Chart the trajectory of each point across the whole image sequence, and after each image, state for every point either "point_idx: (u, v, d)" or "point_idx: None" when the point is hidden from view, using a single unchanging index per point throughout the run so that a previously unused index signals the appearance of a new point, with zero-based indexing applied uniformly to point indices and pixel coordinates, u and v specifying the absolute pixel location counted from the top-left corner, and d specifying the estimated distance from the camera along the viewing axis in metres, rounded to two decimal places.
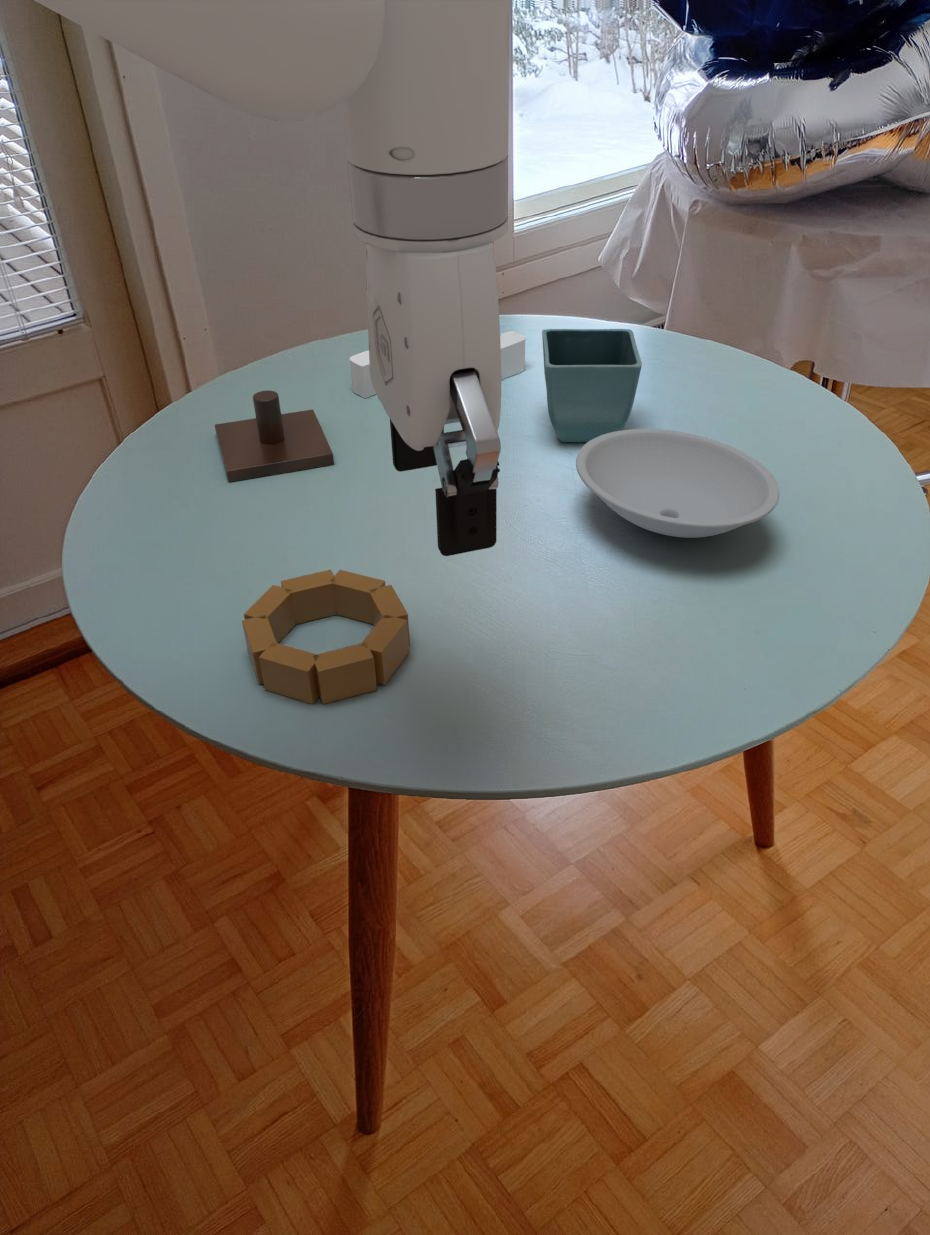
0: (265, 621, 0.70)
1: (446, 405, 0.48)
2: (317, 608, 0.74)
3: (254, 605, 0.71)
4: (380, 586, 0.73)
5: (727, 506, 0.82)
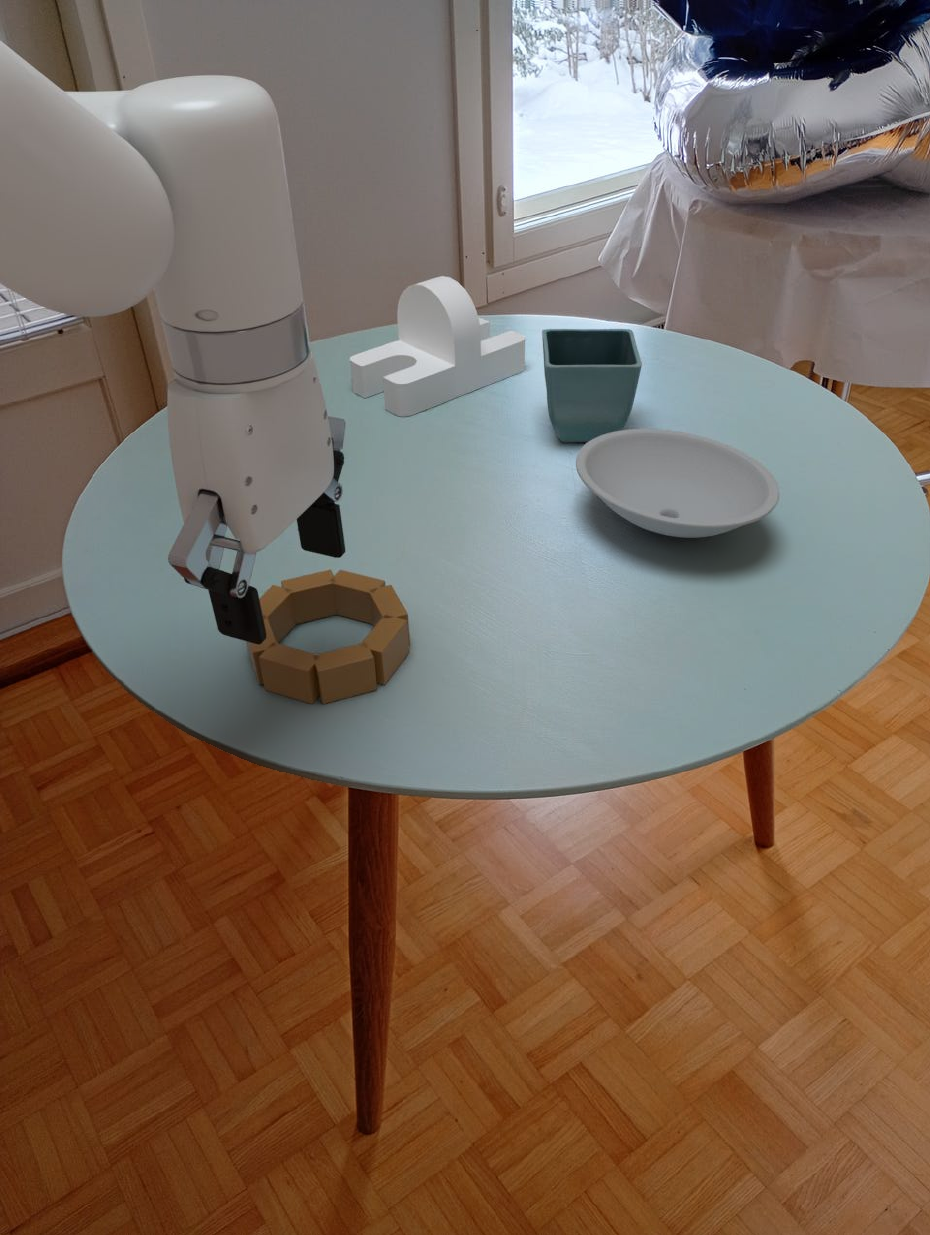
0: (265, 621, 0.70)
1: None
2: (317, 608, 0.74)
3: None
4: (380, 586, 0.73)
5: (727, 506, 0.82)
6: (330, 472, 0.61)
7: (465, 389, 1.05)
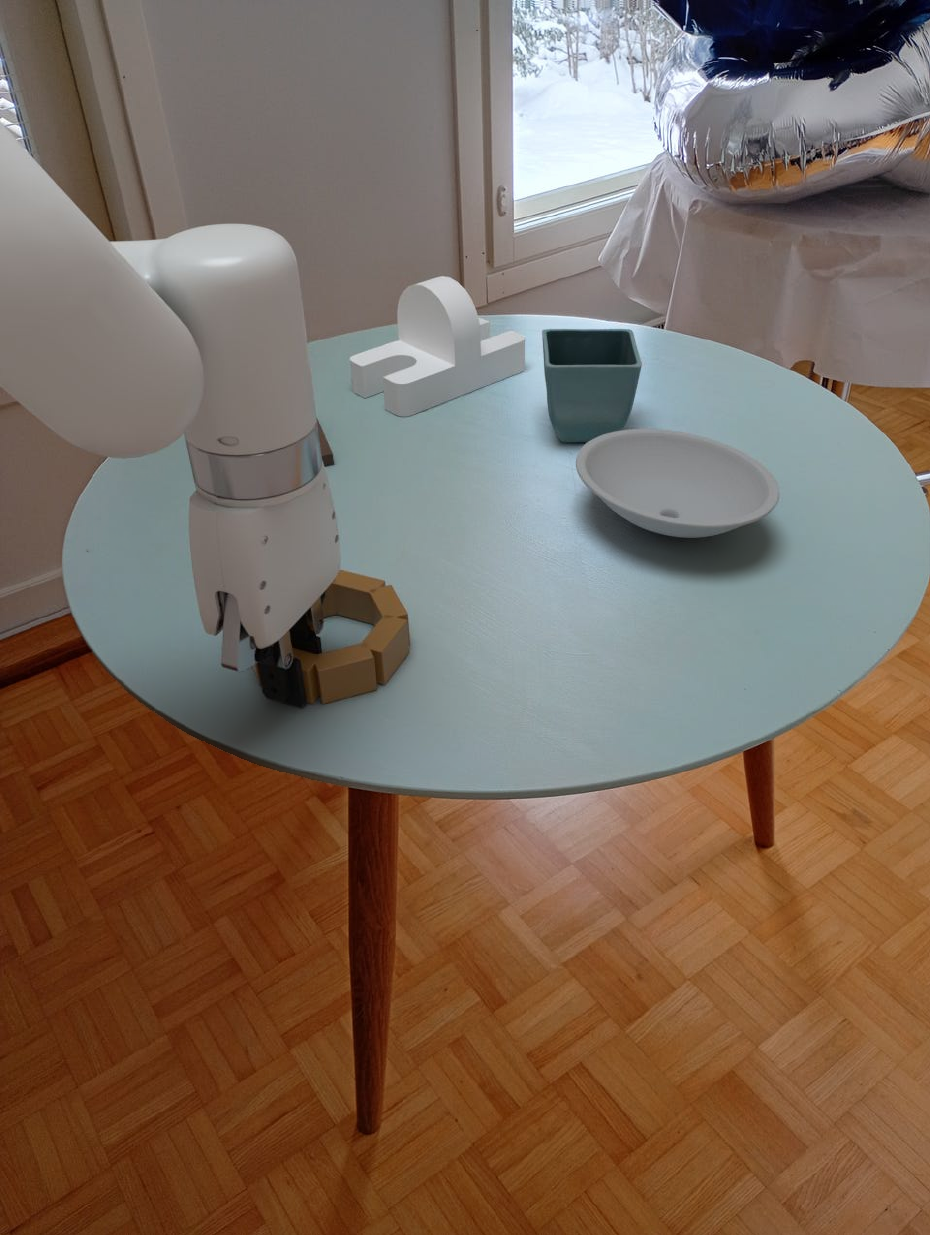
0: None
1: (215, 612, 0.59)
2: None
3: None
4: (380, 586, 0.73)
5: (727, 506, 0.82)
6: (337, 565, 0.65)
7: (465, 389, 1.05)
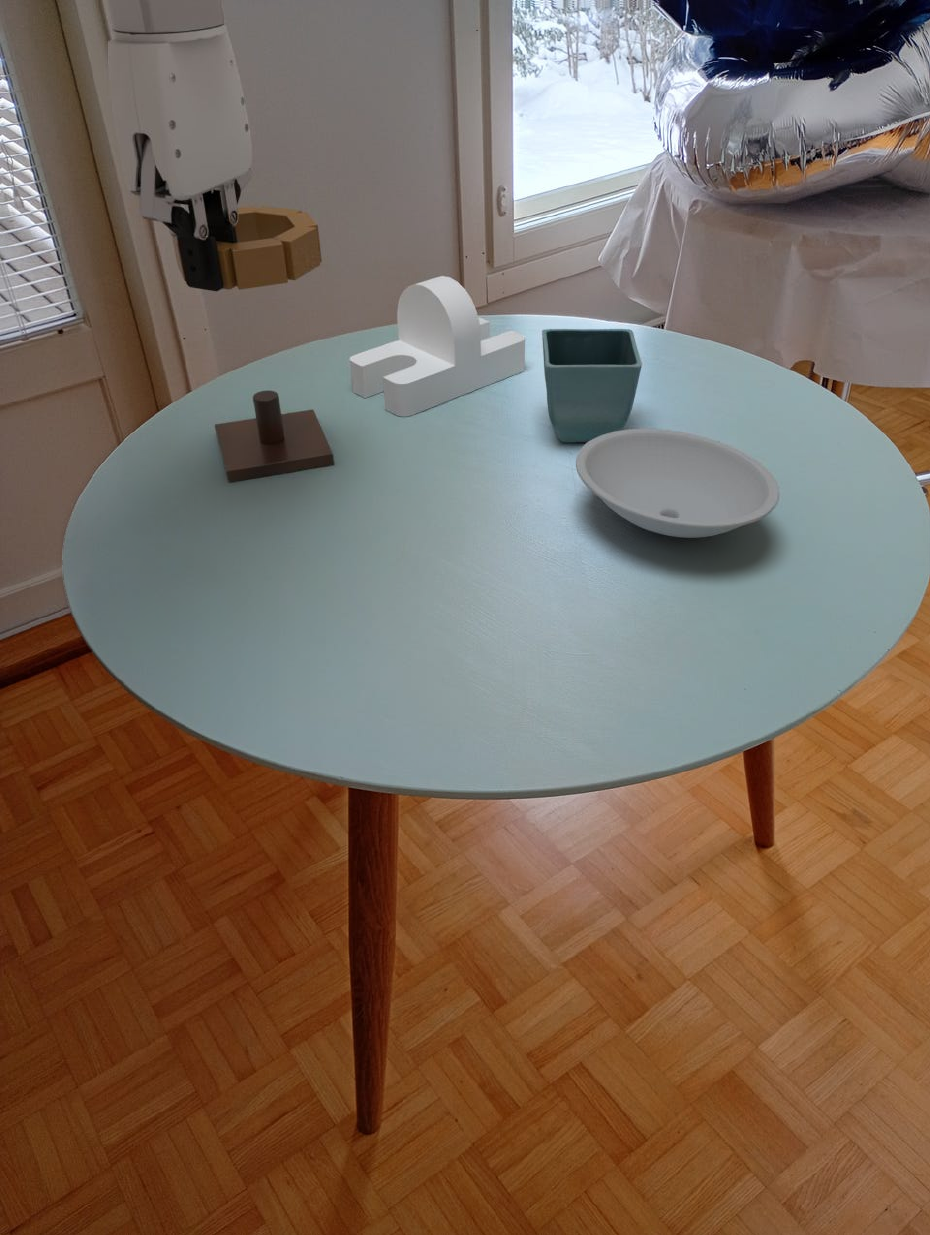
0: None
1: (133, 159, 0.68)
2: (242, 238, 0.83)
3: None
4: (296, 213, 0.82)
5: (727, 506, 0.82)
6: (248, 158, 0.74)
7: (465, 389, 1.05)
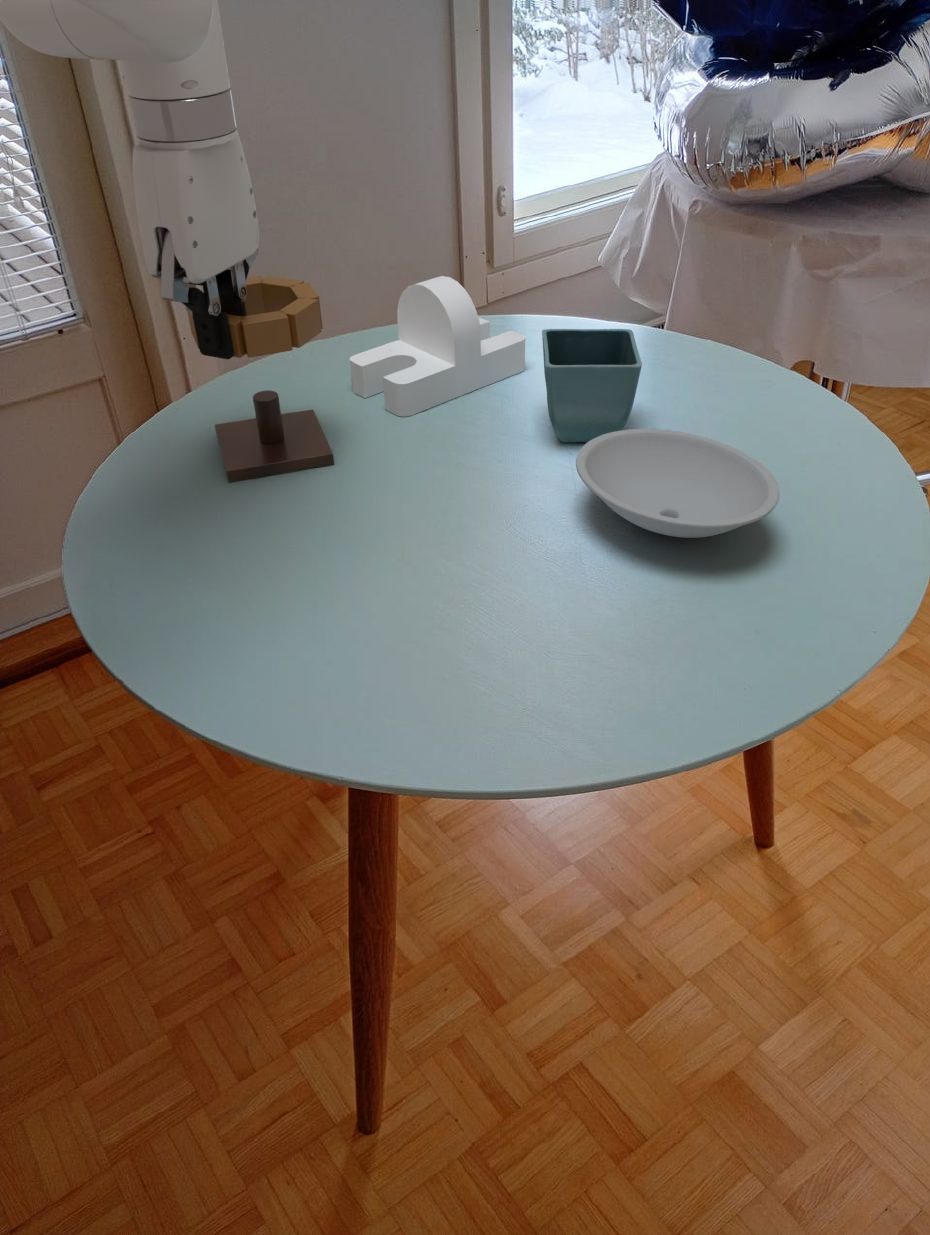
0: None
1: (155, 249, 0.76)
2: (249, 305, 0.91)
3: None
4: (299, 283, 0.90)
5: (727, 506, 0.82)
6: (256, 240, 0.82)
7: (465, 389, 1.05)
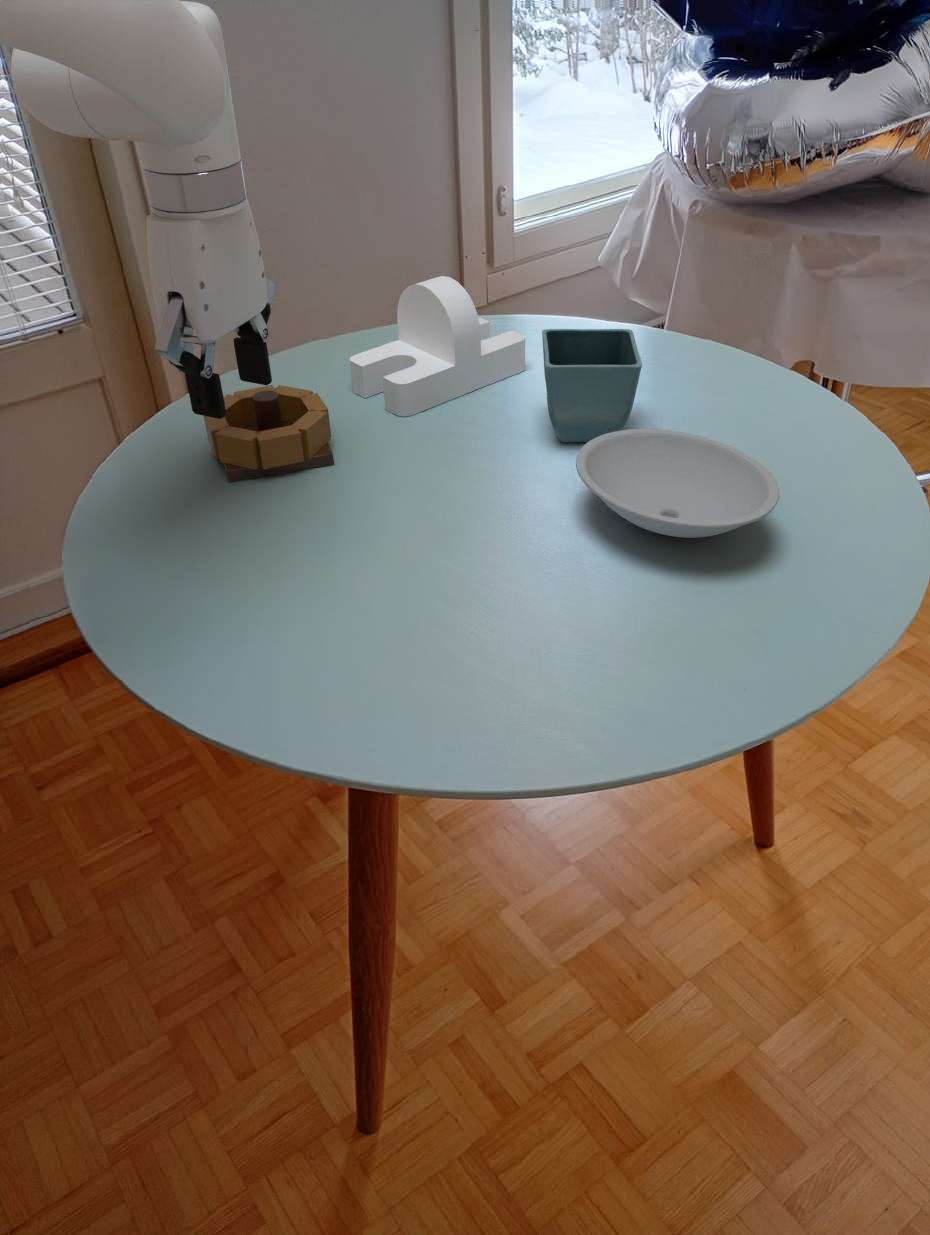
0: None
1: None
2: None
3: None
4: (309, 394, 0.96)
5: (727, 506, 0.82)
6: (264, 299, 0.85)
7: (465, 389, 1.05)
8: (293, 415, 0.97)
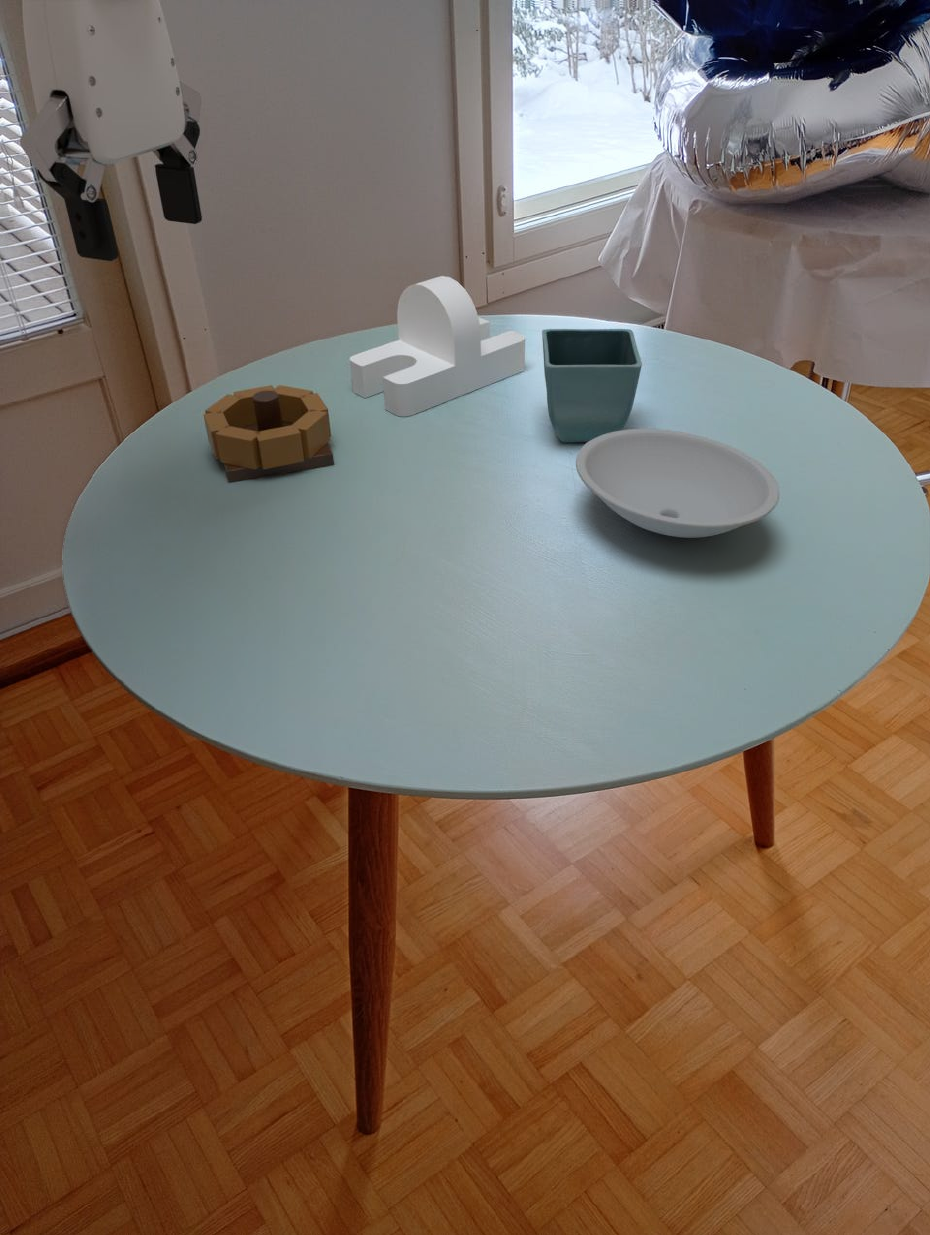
0: (221, 414, 0.93)
1: None
2: None
3: (213, 405, 0.95)
4: (309, 394, 0.96)
5: (727, 506, 0.82)
6: (180, 124, 0.70)
7: (465, 389, 1.05)
8: (293, 415, 0.97)
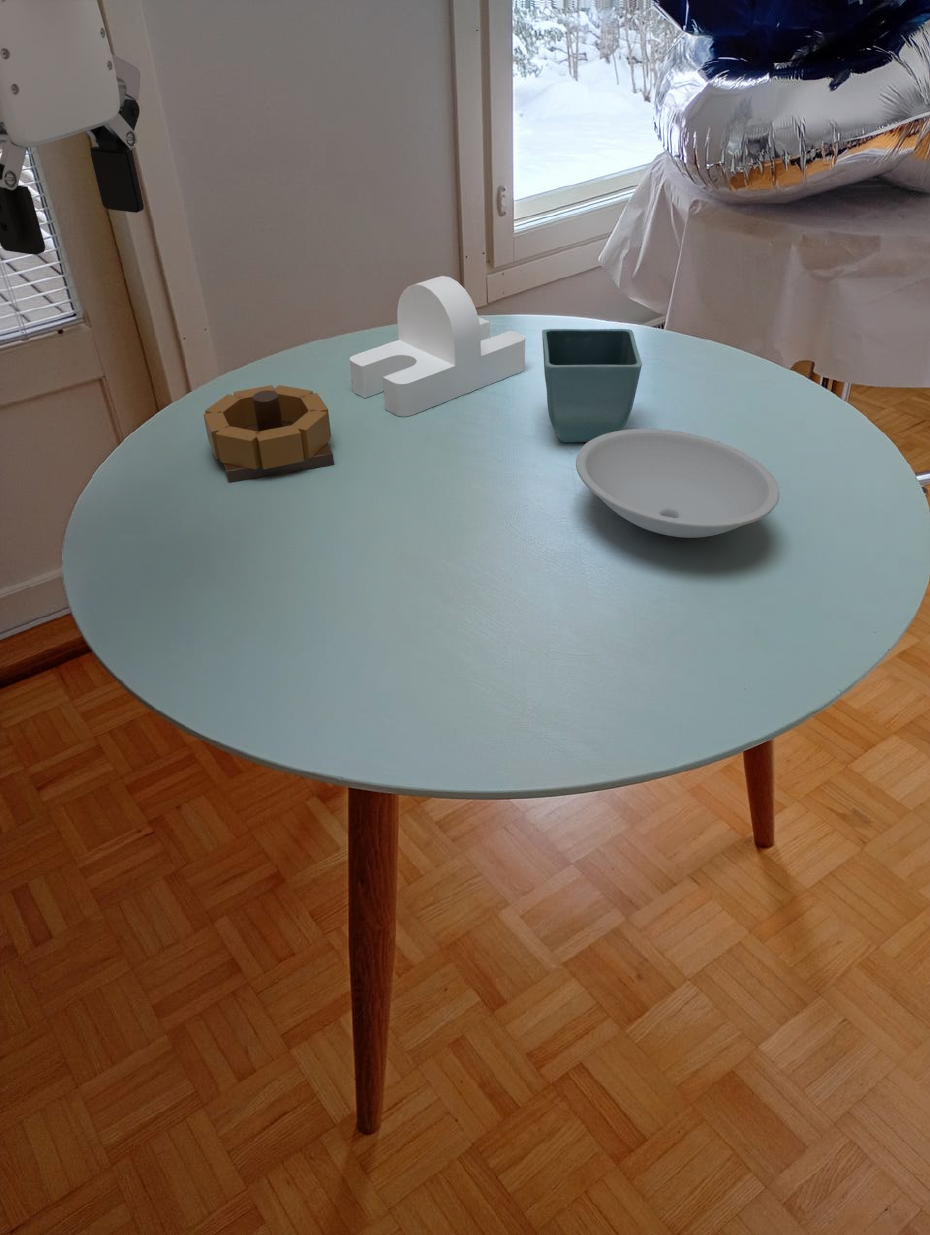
0: (221, 414, 0.93)
1: None
2: None
3: (213, 405, 0.95)
4: (309, 394, 0.96)
5: (727, 506, 0.82)
6: (114, 102, 0.64)
7: (465, 389, 1.05)
8: (293, 415, 0.97)
